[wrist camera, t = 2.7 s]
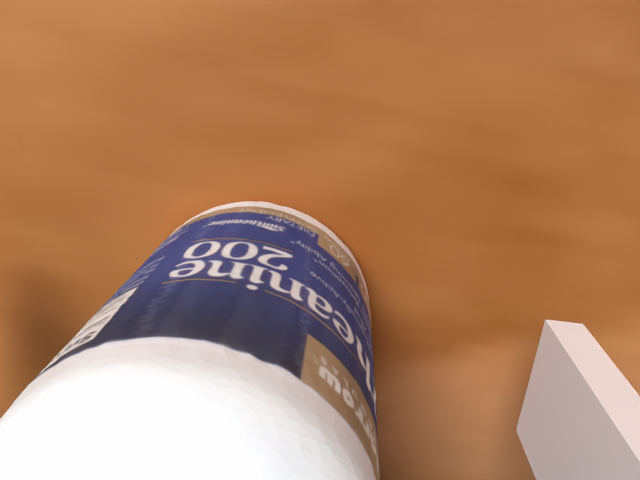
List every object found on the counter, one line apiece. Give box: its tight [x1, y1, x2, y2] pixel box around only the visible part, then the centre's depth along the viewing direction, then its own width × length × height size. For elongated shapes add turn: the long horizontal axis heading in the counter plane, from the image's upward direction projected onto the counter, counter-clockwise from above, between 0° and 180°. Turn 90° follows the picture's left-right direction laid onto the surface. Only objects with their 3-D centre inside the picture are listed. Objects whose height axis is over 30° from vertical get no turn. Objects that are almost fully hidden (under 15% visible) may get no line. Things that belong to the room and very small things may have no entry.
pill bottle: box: [0, 201, 380, 480], centre depth 9 cm, size 5×5×10 cm
